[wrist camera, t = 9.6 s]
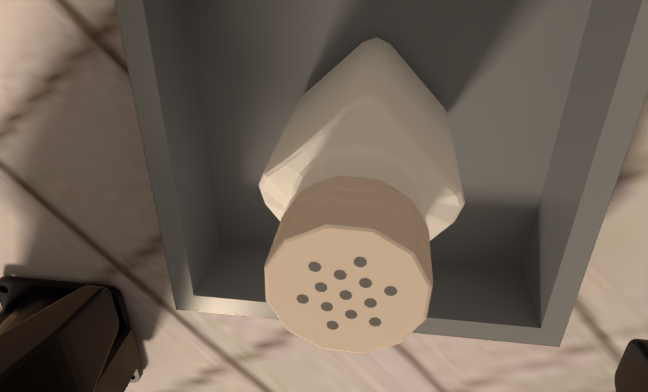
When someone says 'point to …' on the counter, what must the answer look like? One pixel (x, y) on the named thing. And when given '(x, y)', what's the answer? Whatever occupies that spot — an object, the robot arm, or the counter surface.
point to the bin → (465, 125)
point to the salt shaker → (359, 204)
